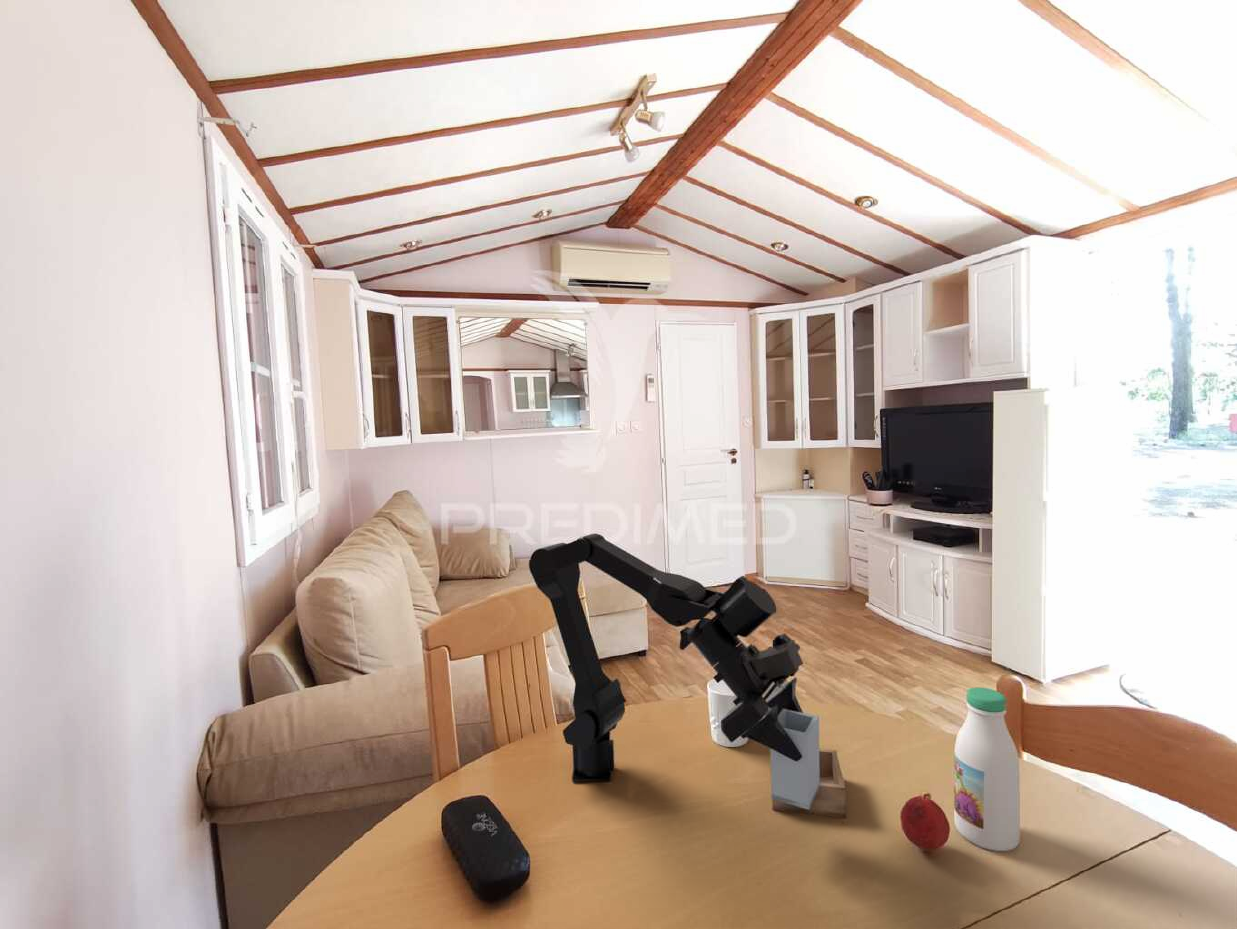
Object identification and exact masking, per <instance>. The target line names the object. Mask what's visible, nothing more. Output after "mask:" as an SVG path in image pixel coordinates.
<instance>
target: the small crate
mask: <svg viewBox="0 0 1237 929" xmlns="http://www.w3.org/2000/svg"><path fill="white" fill-rule="evenodd" d="M778 721H779V722H780V724H781V725H782V727H783V728H784V730H785V731H786V733H787V734H788V735H789V737H790V738H791V740H792V741H793V743H794V744H795V745H796V747H797V749H798V750H799V752H800V753H801V755H802V758H801V759H800V760H798V761H794V760H792V759H790V758H788V757H786V756H784V755H782V754H780V753H779V752H777V751H775V750H773V749H771V762H770V783H771V784H770V786H771V800H772V799H775V800H779V801H782V802H785V803H788V804H792V805H795V806H798V807H801V808H805V809H808V810H809V809H810V807H811V804H812V802H813V800H814V798H815V795H816V793H817V791H818V789H819V786H820V774H819V749H820V716H819V715H813V714H809V713H804V712H803V713H801V712H796V711H792V710H787V709H782V711H781V712H780V714H779V715H778Z"/></svg>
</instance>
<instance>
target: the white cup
mask: <svg viewBox="0 0 1237 929" xmlns="http://www.w3.org/2000/svg"><path fill="white" fill-rule="evenodd" d="M706 685H707V688H706V690H707V702H708V703H707V704H708V714H709V724H710V734H711V739H712V741H713V742H715V743H716V744H717V745H719V746H723V747H727V748H738V747H741V746H744V745H746V744H747V743H748V741H749V738H747V737H746V738H744V739H743V738H742V737H741V736H740V737H738V738H737V739H736V740H734V741H733V742H730V741H729V740H728V739H727V737H726V736H725V735H724V734H723V732H722V731H721V720H722V719H723V718H724V717H725V716H726V715H727V714H728V712H729V711H730V710H731V709H733V708H734V707H735V706H736V705H735V704H734V703H733V701H734V700H735V698H736V696H735V694H734V693H733V692H732V691H731V690H730V688H729V687H728V686H727V685H726V683H725V682H724V681H723V680H721V681H720V682H719V683H717V682H716V680H715V679H714V678H713V679H711V680H709V681H708V682H707V684H706Z"/></svg>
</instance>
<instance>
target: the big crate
mask: <svg viewBox="0 0 1237 929" xmlns="http://www.w3.org/2000/svg"><path fill="white" fill-rule="evenodd" d="M769 753H770V756H769V757H770V763H771V748H769ZM839 761H840V760H839V758H838V754H837V750H835V749H823V748H819V774H820V786H819V789H818V791H817V793H816V795H815V798H814V800H813V802H812V804H811V807H810V809H809V810H808V809H805V808H801V807H798V806H795V805H792V804H788V803H785V802H782V801H779V800H775V799H772V798H771V804H772V805H771V806H772V810H773V811H781V812H791V813H798V814H799V813H801V814H805V815H807V814H809V815H817V816H826V817H835V818H842V819H847V809H846V808H847V805H846V803H847V800H846V798H847V797H846V796H847V794H846V788H847V787H846V785H845V782H844V777H843V774H842V770H841V765H840V762H839Z"/></svg>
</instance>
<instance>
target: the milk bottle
mask: <svg viewBox="0 0 1237 929" xmlns="http://www.w3.org/2000/svg"><path fill="white" fill-rule="evenodd" d="M966 707H967V708H968V713H967V716H966V718H965V721H964V723H963V725H962V726H961V728H960V729H959V731H958V733H957V736H956V738H955V744H954V755H953V756H954V757H953V758H954V759H953V762H954V763H953V764H954V765H953V769H954V770H953V804H954V806H953V809H954V810H953V811H954V812H953V815H954V817H953V818H954V820H953V821H954V825H955V828H956V830H957V831H958V833H959V834H960V835H961V836H962V837H963V839H965V840H967V841H969V842H970V843H972V844H974V845H975V846H978V847H980V848H984V849H986V850H989V851H994V852H1009V851H1012V850H1014V849H1016V848H1017V847H1018V845H1019V844H1020V836H1021V826H1020V825H1021V789H1020V786H1021V785H1020V784H1021V783H1020V782H1021V778H1020V776H1021V775H1020V774H1021V773H1020V761H1019V759H1020V758H1019V754H1018V750H1017V747H1016V744H1015V743H1014V742H1015V741H1014V739H1013V738H1012V736H1011V734H1010V731H1009V729H1008V726H1007V724H1006V721H1005V715H1006V713H1007V710H1006V708H1007V698H1006V696H1005V695H1004V694H1002V693H1001V692H999V691H997V690H995V689H992V688H989V687H971V688H969V689H967V691H966Z"/></svg>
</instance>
